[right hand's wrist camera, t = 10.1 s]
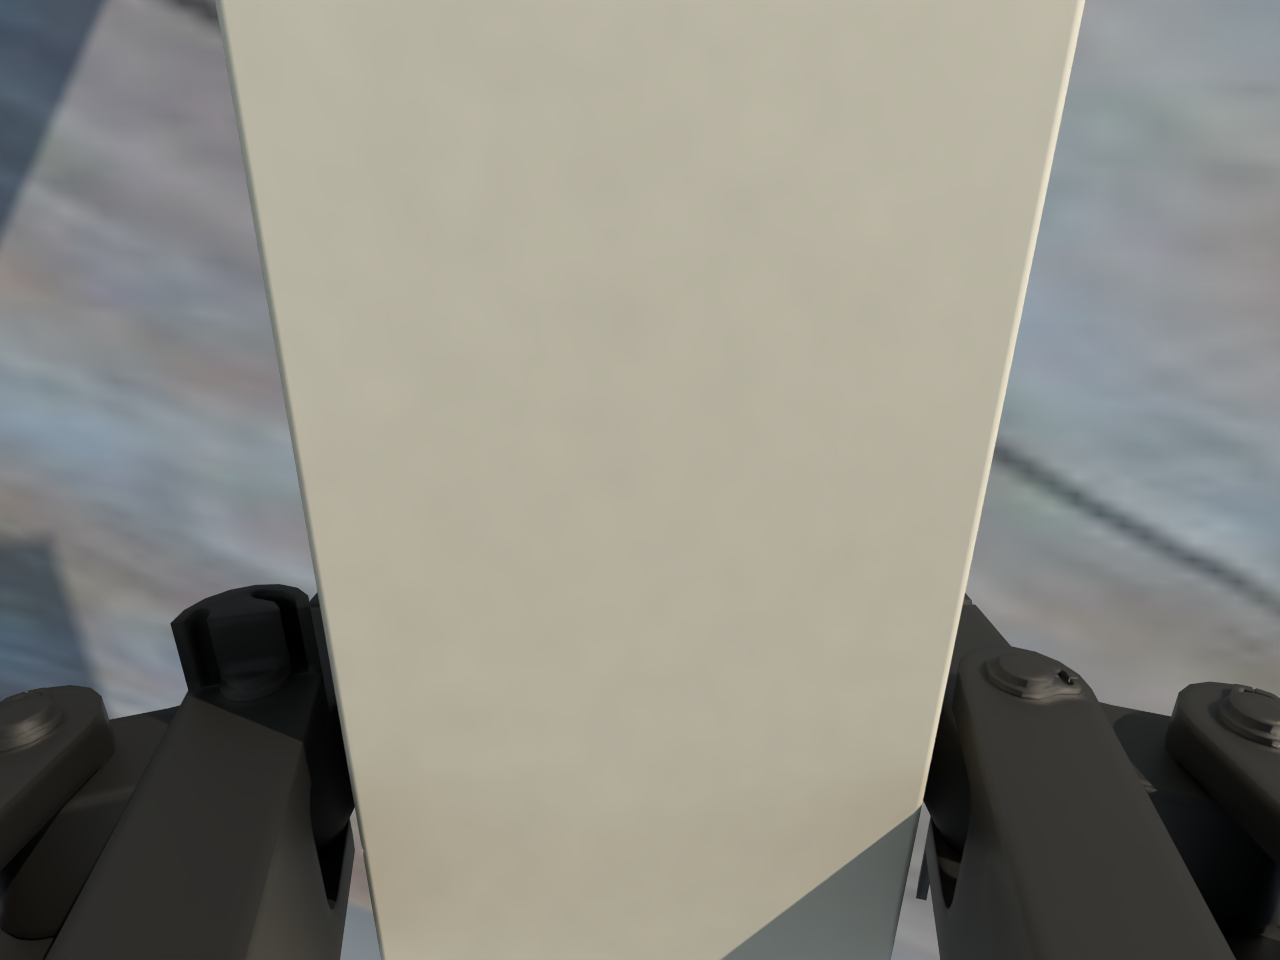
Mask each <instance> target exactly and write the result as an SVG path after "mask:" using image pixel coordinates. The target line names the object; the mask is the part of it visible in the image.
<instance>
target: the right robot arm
mask: <svg viewBox="0 0 1280 960" xmlns="http://www.w3.org/2000/svg"><path fill="white" fill-rule="evenodd" d="M170 624H171V627H172V631H173V635H174V638H175V642H176V646H177V650H178V653H179V657H180V661H181V664H182V668H183V672H184V676H185V679H186V683H187V687H188V692H187V694H186V696H185V698H184V700H183V701H182V703H181V705H180V706H176V707H172V708H168V709H163V710H158V711H152V712H147V713H142V714H137V715H132V716H127V717H121V718H116V719H111V720H109V718H108V715H107V712H106V709H105V706H104V703H103V699H102V696H101V695H99V694H98V693H97V692H95V691H94V690H93V689H91V688H88V687H80V686H72V685H68V686H59V687H50V688H39V689H35V690H30V691H28V693H25V692H23V693H20V694H16V695H13V696H10V697H8V698H6V699H4V700H3V701H2V702H0V960H340V955H341V948H342V940H343V933H344V926H345V918H346V911H347V904H348V897H349V889H350V882H351V875H352V867H353V860H354V853H355V848H354V840H353V833H352V828H351V822H350V816H351V814H352V812H353V810H354V807H355V805H354V799H353V793H352V788H351V782H350V776H349V770H348V764H347V759H346V753H345V747H344V741H343V736H342V730H341V724H340V718H339V712H338V707H337V701H336V695H335V689H334V684H333V678H332V672H331V666H330V660H329V655H328V649H327V643H326V637H325V632H324V626H323V620H322V614H321V608H320V603H319V597H318V592H317V593H316V595H315V596H314V597H313V598H312V599H311V600H310V602H309V598H308V595H307V594H305V593H304V592H303V591H301V590H300V589H298V588H296V587H291V586H286V585H281V584H271V585H253V586H248V587H243V588H237V589H232V590H228V591H226V592H223V593H220V594H217V595H214V596H211V597H208V598H205V599H204V600H202V601H200V602H198V603H196V604H194V605H193V606H191V607H189V608H187V609H185V610H184V611H183V612H182V613H181V614H180V615H179V616H178V617H177V618H175V619H174V620H173V621H172V622H171V623H170ZM923 801H924V803H925V805H926V807H927V809H928V811H929V813H930V815H931V817H930V822H929V828H928V833H927V838H926V844H925V849H924V855H923V860H922V865H921V871H920V876H919V881H918V888H917V896H916V898H918V899H923V900H926V899H927V894H928V889H929V884H930V888H931V895H932V902H933V909H934V917H935V924H936V931H937V939H938V946H939V953H940V960H1280V698H1278V697H1277V696H1276V695H1274V694H1272V693H1269V692H1266V691H1263V690H1260V689H1257V688H1256V689H1255V690H1254V689H1252V687H1248V686H1244V685H1239V684H1226V683H1217V682H1204V683H1197V684H1190V685H1188V686H1187V687H1186V688H1184V689H1183V690H1182V691H1180V692H1179V694H1178V697H1177V700H1176V703H1175V706H1174V710H1173V713H1172V716H1165V715H1160V714H1155V713H1150V712H1145V711H1139V710H1134V709H1129V708H1124V707H1119V706H1113V705H1109V704H1105V703H1101V702H1098V700H1097V698H1096V696H1095V694H1094V693H1093V691H1092V689H1091V688H1090V687H1089V686H1088V684H1087V683H1086V682H1085V681H1084V680H1083V679H1082V677H1081V676H1080V675H1079V674H1077V673H1076V672H1074V671H1073V670H1071V669H1070V668H1068V667H1067V666H1065V665H1064V664H1062V663H1061V662H1059V661H1057V660H1054V659H1052V658H1049V657H1047V656H1044V655H1042V654H1039V653H1037V652H1034V651H1029V650H1025V649H1020V648H1016V647H1012V646H1010V645H1009V643H1008V642H1007V641H1006V640H1005V639H1004V638H1003V636H1002V635H1001V634H1000V633H999V632H998V631H997V629H996V628H995V627H994V626H993V625H992V624H991V622H990V621H989V620H988V619H987V618H986V617H985V615H984V614H983V613H982V612H981V611H980V610H979V608H978V607H977V606H976V605H972V600H971V599H970V598H969V597H968V596H967V594H966V593H965V595H964V600H963V605H962V610H961V615H960V620H959V625H958V629H957V634H956V639H955V644H954V649H953V654H952V659H951V664H950V669H949V674H948V679H947V684H946V689H945V694H944V698H943V703H942V708H941V713H940V718H939V723H938V728H937V733H936V738H935V743H934V748H933V753H932V758H931V763H930V768H929V772H928V777H927V782H926V787H925V792H924V797H923Z"/></svg>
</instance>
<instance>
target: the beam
mask: <svg viewBox="0 0 1280 960" xmlns="http://www.w3.org/2000/svg"><path fill="white" fill-rule="evenodd" d="M215 2H216V7H217V13H218V19H219V25H220V31H221V36H222V42H223V48H224V54H225V59H226V65H227V71H228V77H229V83H230V88H231V94H232V100H233V106H234V111H235V117H236V123H237V129H238V135H239V140H240V146H241V152H242V158H243V163H244V169H245V175H246V181H247V187H248V192H249V198H250V204H251V210H252V215H253V221H254V227H255V233H256V239H257V244H258V250H259V256H260V262H261V267H262V273H263V279H264V285H265V291H266V296H267V302H268V308H269V314H270V319H271V325H272V331H273V337H274V343H275V348H276V354H277V360H278V366H279V371H280V377H281V383H282V389H283V395H284V400H285V406H286V412H287V418H288V423H289V429H290V435H291V441H292V447H293V452H294V458H295V464H296V470H297V475H298V481H299V487H300V493H301V499H302V504H303V510H304V516H305V522H306V527H307V533H308V539H309V545H310V551H311V556H312V562H313V568H314V574H315V580H316V585H317V591H318V597H319V603H320V608H321V614H322V620H323V626H324V632H325V637H326V643H327V649H328V655H329V660H330V666H331V672H332V678H333V684H334V689H335V695H336V701H337V707H338V712H339V718H340V724H341V730H342V736H343V741H344V747H345V753H346V759H347V764H348V770H349V776H350V782H351V788H352V793H353V799H354V805H355V811H356V816H357V822H358V828H359V834H360V840H361V845H362V851H363V857H364V863H365V868H366V874H367V880H368V886H369V892H370V897H371V903H372V909H373V915H374V920H375V926H376V932H377V938H378V944H379V949H380V955H381V960H891V955H892V950H893V945H894V940H895V935H896V930H897V925H898V920H899V915H900V910H901V906H902V901H903V896H904V891H905V886H906V881H907V876H908V871H909V866H910V861H911V856H912V851H913V846H914V841H915V837H916V832H917V827H918V822H919V817H920V812H921V807H922V802H923V797H924V792H925V787H926V782H927V777H928V772H929V768H930V763H931V758H932V753H933V748H934V743H935V738H936V733H937V728H938V723H939V718H940V713H941V708H942V703H943V698H944V694H945V689H946V684H947V679H948V674H949V669H950V664H951V659H952V654H953V649H954V644H955V639H956V634H957V629H958V625H959V620H960V615H961V610H962V605H963V600H964V595H965V590H966V585H967V580H968V575H969V570H970V565H971V560H972V556H973V551H974V546H975V541H976V536H977V531H978V526H979V521H980V516H981V511H982V506H983V501H984V496H985V491H986V487H987V482H988V477H989V472H990V467H991V462H992V457H993V452H994V447H995V442H996V437H997V432H998V427H999V422H1000V418H1001V413H1002V408H1003V403H1004V398H1005V393H1006V388H1007V383H1008V378H1009V373H1010V368H1011V363H1012V358H1013V353H1014V348H1015V344H1016V339H1017V334H1018V329H1019V324H1020V319H1021V314H1022V309H1023V304H1024V299H1025V294H1026V289H1027V284H1028V279H1029V275H1030V270H1031V265H1032V260H1033V255H1034V250H1035V245H1036V240H1037V235H1038V230H1039V225H1040V220H1041V215H1042V210H1043V206H1044V201H1045V196H1046V191H1047V186H1048V181H1049V176H1050V171H1051V166H1052V161H1053V156H1054V151H1055V146H1056V141H1057V137H1058V132H1059V127H1060V122H1061V117H1062V112H1063V107H1064V102H1065V97H1066V92H1067V87H1068V82H1069V77H1070V72H1071V67H1072V63H1073V58H1074V53H1075V48H1076V43H1077V38H1078V33H1079V28H1080V23H1081V18H1082V13H1083V8H1084V3H1085V0H215Z"/></svg>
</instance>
